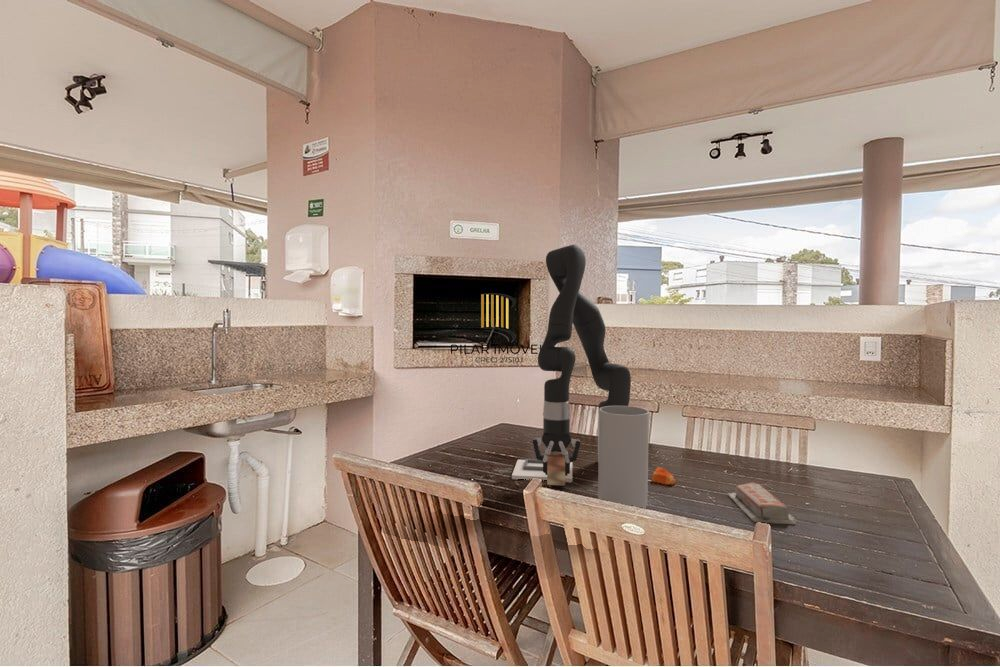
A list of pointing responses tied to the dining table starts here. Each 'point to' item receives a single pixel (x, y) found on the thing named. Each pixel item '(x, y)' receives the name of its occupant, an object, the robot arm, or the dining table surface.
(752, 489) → the packaged product
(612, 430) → the cylinder vase
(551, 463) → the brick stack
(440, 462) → the dining table surface
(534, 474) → the base plate
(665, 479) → the rock
